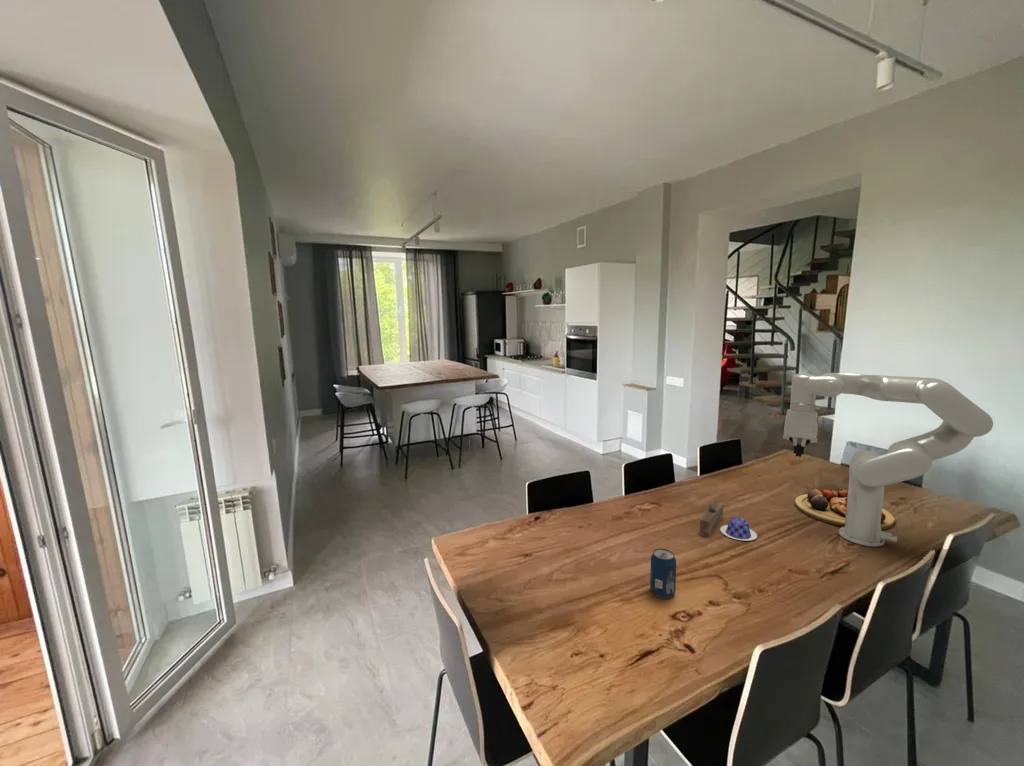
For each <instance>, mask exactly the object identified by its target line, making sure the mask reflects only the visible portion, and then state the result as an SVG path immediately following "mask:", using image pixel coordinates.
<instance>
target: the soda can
mask: <svg viewBox="0 0 1024 766" xmlns="http://www.w3.org/2000/svg"><path fill="white" fill-rule="evenodd" d="M652 552H653V553H652V555H650V556H651V557H650V581H649V582H650V583H649V587H650V590H651V591H652V593H653V594H654V595H655V596H656V597H658V598H661V599H670V598H672V597H673V596H674V594H675V593H676V590H677V589H676V587H677V586H676V585H677V584H676V583H677V559H676V556H675V554H674V552H672V551H671V550H669V549H666V548H656V549H654V550H653V551H652Z"/></svg>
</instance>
